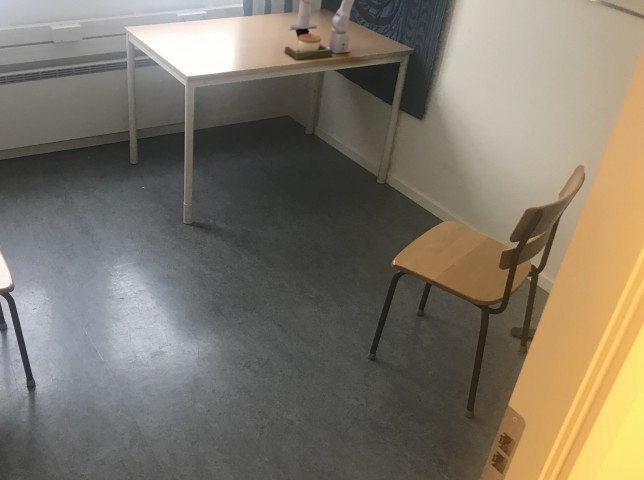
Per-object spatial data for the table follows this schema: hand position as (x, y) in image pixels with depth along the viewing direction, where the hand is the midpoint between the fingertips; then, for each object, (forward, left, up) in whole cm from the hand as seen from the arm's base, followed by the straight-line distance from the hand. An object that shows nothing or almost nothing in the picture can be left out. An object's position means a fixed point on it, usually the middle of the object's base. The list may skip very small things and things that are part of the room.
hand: (300, 44), depth 344 cm
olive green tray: (-8, 0, -2) cm, 8 cm away
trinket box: (-8, 0, -2) cm, 8 cm away
